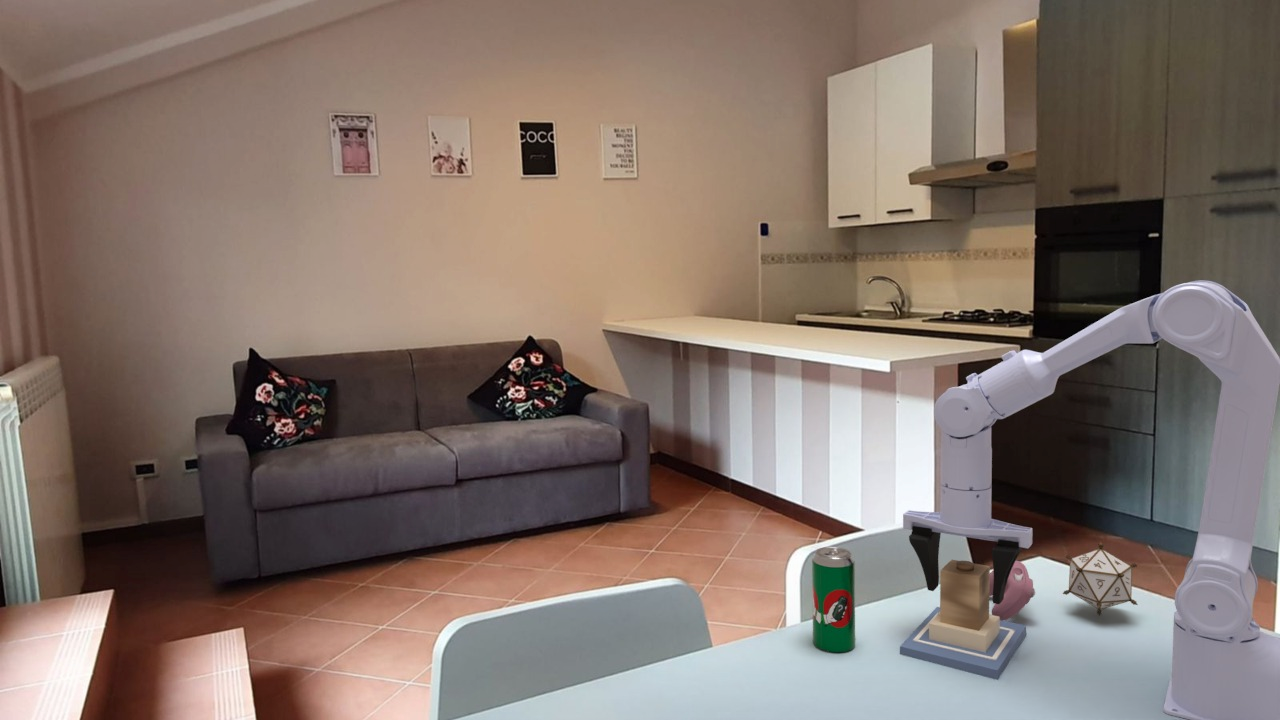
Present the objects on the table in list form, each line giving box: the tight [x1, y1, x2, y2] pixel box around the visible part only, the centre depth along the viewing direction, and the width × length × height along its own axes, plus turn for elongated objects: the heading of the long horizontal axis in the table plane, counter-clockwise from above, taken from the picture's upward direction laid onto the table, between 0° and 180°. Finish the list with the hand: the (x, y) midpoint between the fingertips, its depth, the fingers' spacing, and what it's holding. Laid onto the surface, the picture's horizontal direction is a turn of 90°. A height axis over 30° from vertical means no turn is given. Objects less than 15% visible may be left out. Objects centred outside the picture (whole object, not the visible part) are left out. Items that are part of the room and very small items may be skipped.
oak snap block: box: [939, 559, 991, 631], centre depth 101 cm, size 4×4×7 cm
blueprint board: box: [899, 606, 1027, 680], centre depth 101 cm, size 11×14×3 cm
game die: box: [1062, 541, 1139, 617], centre depth 108 cm, size 9×8×10 cm
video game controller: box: [989, 559, 1036, 621], centre depth 110 cm, size 10×5×7 cm, turn 168°
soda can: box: [811, 546, 856, 654], centre depth 101 cm, size 5×5×12 cm
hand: (964, 594), depth 101 cm, fingers open, 7 cm apart
